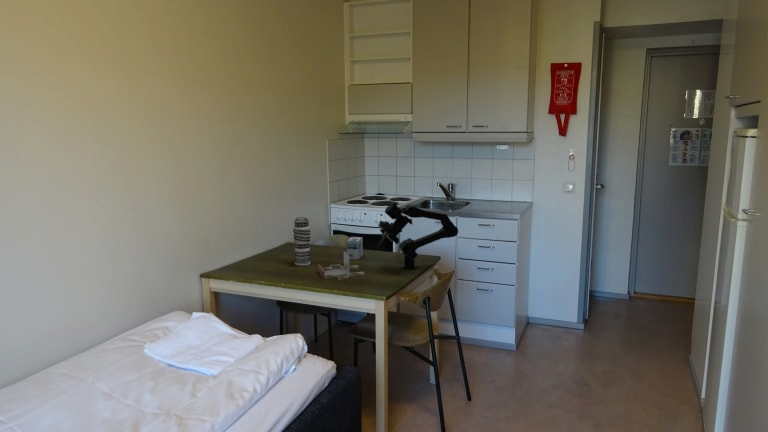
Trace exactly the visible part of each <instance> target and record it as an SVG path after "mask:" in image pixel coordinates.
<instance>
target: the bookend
mask: <svg viewBox="0 0 768 432" xmlns="http://www.w3.org/2000/svg"><path fill="white" fill-rule="evenodd" d="M343 266H344V269H338V270H326V271H324V272H325V275H331V274H337V275H338V276H346V273H351V272H350V270H351V269H349V266H350V259H349V255H348V254H347V251H343Z"/></svg>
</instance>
